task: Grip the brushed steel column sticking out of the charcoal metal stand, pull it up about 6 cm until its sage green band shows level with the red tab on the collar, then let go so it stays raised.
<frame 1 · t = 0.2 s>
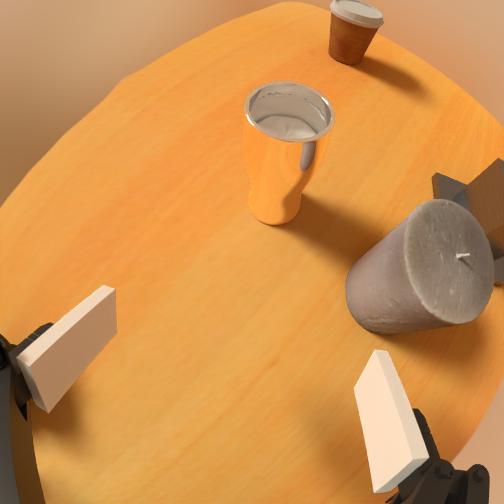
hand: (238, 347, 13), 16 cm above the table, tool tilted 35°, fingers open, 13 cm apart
pillar candle: (381, 291, 30), on the table
jack stand: (470, 231, 32), on the table
disposable coffee cup: (344, 56, 43), on the table
beer glass: (273, 201, 33), on the table
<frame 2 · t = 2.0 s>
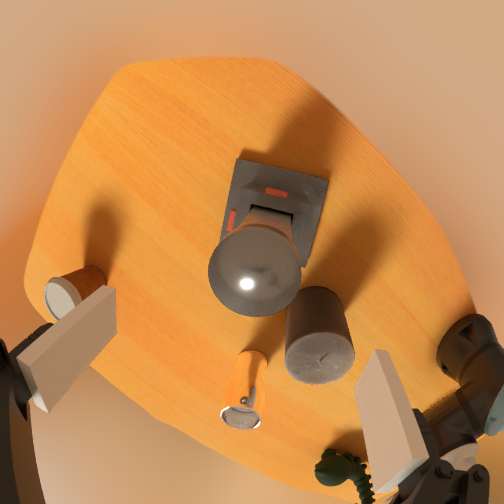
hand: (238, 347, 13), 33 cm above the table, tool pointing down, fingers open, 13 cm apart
pillar candle: (313, 311, 49), on the table
jack stand: (272, 212, 44), on the table
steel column: (266, 233, 31), point 14 cm above the table, slide at 0.0 cm
disposable coffee cup: (95, 279, 52), on the table
beer glass: (252, 361, 53), on the table
toy figurine: (342, 457, 62), on the table
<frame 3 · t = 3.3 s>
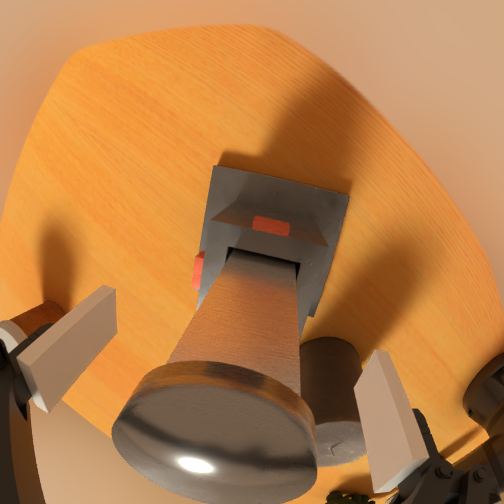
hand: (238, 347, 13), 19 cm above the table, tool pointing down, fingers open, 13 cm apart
pillar candle: (322, 365, 36), on the table
jack stand: (268, 241, 31), on the table
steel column: (253, 301, 18), point 14 cm above the table, slide at 0.0 cm
disposable coffee cup: (56, 316, 40), on the table
toy figurine: (349, 496, 49), on the table
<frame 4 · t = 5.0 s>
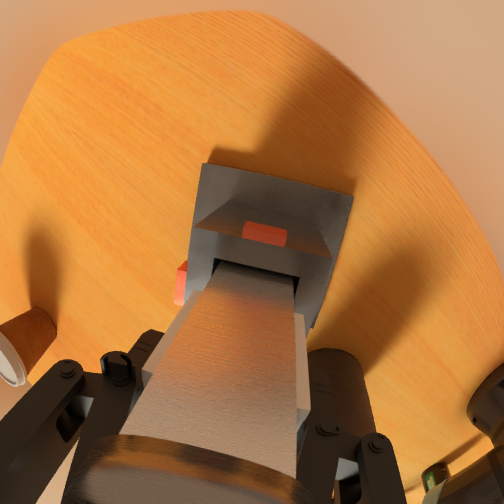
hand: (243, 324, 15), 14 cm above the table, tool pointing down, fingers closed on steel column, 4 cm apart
pillar candle: (322, 377, 33), on the table
jack stand: (263, 246, 28), on the table
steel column: (244, 322, 15), point 14 cm above the table, slide at 0.0 cm, touching gripper
supplement bottle: (433, 468, 40), on the table
disposable coffee cup: (44, 323, 37), on the table
toy figurine: (349, 502, 46), on the table
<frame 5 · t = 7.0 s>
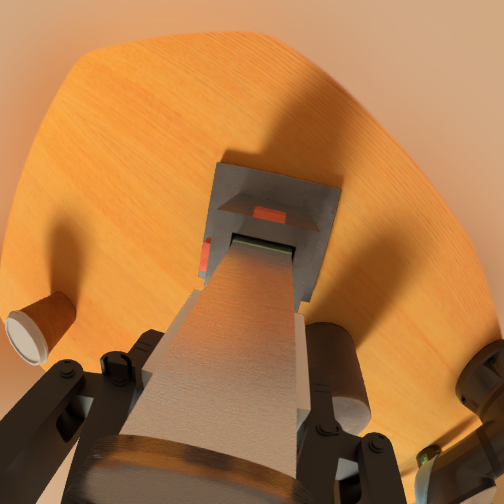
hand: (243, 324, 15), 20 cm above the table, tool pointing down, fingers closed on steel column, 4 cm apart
pillar candle: (319, 349, 38), on the table
jack stand: (266, 232, 34), on the table
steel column: (244, 322, 15), point 20 cm above the table, slide at 5.8 cm, touching gripper
supplement bottle: (427, 451, 46), on the table
disposable coffee cup: (63, 307, 42), on the table
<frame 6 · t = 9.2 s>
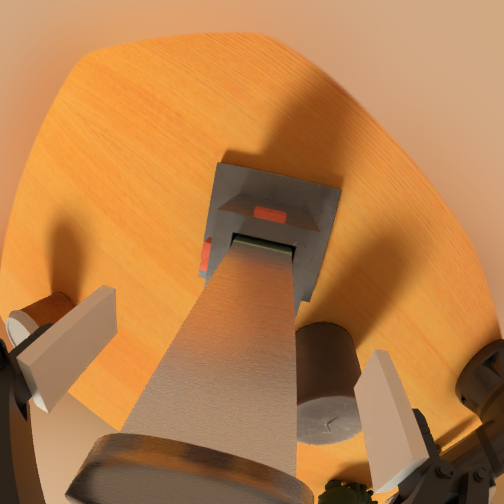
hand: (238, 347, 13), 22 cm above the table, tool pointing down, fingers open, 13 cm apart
pillar candle: (319, 349, 39), on the table
jack stand: (267, 232, 34), on the table
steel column: (244, 322, 15), point 20 cm above the table, slide at 6.0 cm
disposable coffee cup: (64, 307, 42), on the table
toy figurine: (347, 485, 52), on the table
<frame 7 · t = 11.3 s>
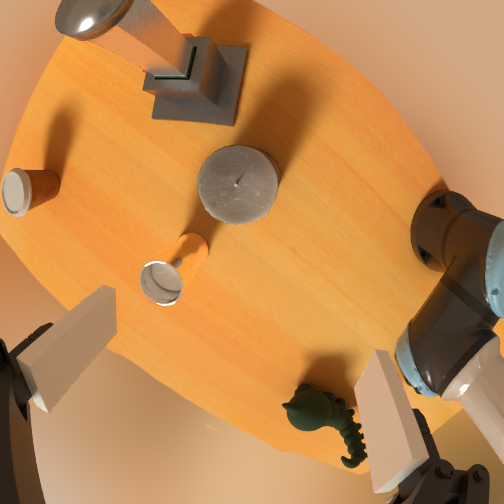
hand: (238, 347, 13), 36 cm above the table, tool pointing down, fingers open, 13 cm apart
pillar candle: (249, 177, 46), on the table
jack stand: (199, 83, 41), on the table
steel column: (150, 42, 22), point 20 cm above the table, slide at 6.0 cm
disposable coffee cup: (51, 184, 49), on the table
beer glass: (192, 248, 51), on the table
toy figurine: (322, 398, 60), on the table
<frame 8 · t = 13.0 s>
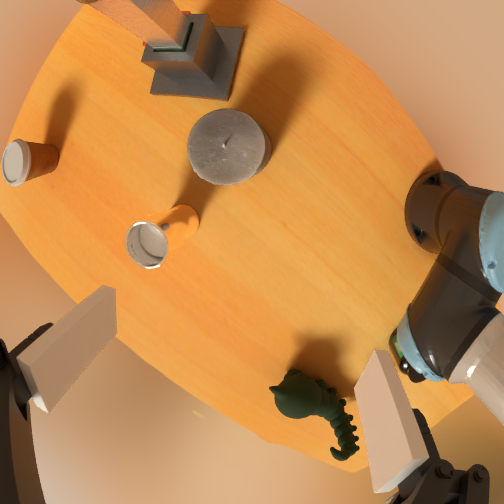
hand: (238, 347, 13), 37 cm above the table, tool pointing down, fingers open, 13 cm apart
pillar candle: (242, 150, 45), on the table
jack stand: (197, 61, 41), on the table
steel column: (149, 14, 22), point 20 cm above the table, slide at 6.0 cm
supplement bottle: (402, 337, 53), on the table
disposable coffee cup: (50, 158, 49), on the table
beer glass: (183, 220, 50), on the table
toy figurine: (313, 386, 59), on the table
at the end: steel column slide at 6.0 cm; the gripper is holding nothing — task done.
